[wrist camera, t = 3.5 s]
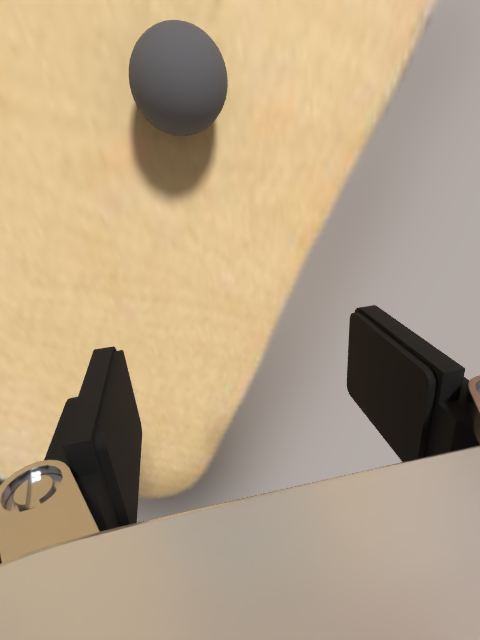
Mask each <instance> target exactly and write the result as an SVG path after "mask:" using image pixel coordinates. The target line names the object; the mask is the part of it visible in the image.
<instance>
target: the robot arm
mask: <svg viewBox="0 0 480 640" xmlns="http://www.w3.org/2000/svg"><path fill="white" fill-rule="evenodd" d="M464 372H465V368H463V367H462V366H461V365H459V364H458V363H456V362H455V361H454V360H452V359H451V358H449V357H448V356H447V355H445V354H444V353H442V352H441V351H439V350H438V349H436V348H435V347H434V346H432V345H431V344H430V343H428V342H427V341H425V340H424V339H422V338H421V337H420V336H418V335H417V334H415V333H414V332H412V331H411V330H410V329H408V328H407V327H405V326H404V325H403V324H401V323H400V322H398V321H397V320H396V319H394V318H393V317H391V316H390V315H388V314H387V313H386V312H384V311H383V310H381V309H380V308H378V307H377V306H375V305H374V306H367V307H361V308H357V309H356V310H355V313H352V314H351V316H350V327H349V348H348V370H347V388H348V392H349V394H350V396H351V397H352V398H353V399H354V401H355V402H356V403H357V405H358V406H359V407H360V408H361V410H362V411H363V412H364V413H365V415H366V416H367V417H368V419H369V420H370V421H371V422H372V424H373V425H374V426H375V427H376V429H377V430H378V431H379V433H380V434H381V435H382V436H383V438H384V439H385V440H386V441H387V443H388V444H389V445H390V447H391V448H392V449H393V450H394V452H395V453H396V454H397V455H398V457H399V458H400V459H401V460H402V463H398V464H393V465H388V466H384V467H379V468H375V469H371V470H366V471H362V472H357V473H353V474H349V475H344V476H339V477H335V478H331V479H326V480H322V481H317V482H313V483H308V484H304V485H300V486H295V487H290V488H286V489H282V490H277V491H273V492H269V493H264V494H260V495H255V496H251V497H247V498H242V499H238V500H234V501H230V502H225V503H221V504H217V505H212V506H208V507H204V508H199V509H195V510H191V511H186V512H182V513H177V514H173V515H169V516H164V517H160V518H156V519H151V520H147V521H143V522H138V523H136V522H137V505H138V491H139V475H140V459H141V443H142V427H141V422H140V418H139V413H138V409H137V405H136V401H135V397H134V393H133V389H132V385H131V380H130V376H129V372H128V368H127V364H126V360H125V356H124V352H123V350H120V351H116V348H115V347H108V348H102V349H95V350H94V351H93V354H92V357H91V360H90V363H89V366H88V369H87V372H86V375H85V378H84V381H83V384H82V387H81V390H80V393H79V396H78V397H74V398H70V399H68V400H67V402H66V404H65V406H64V409H63V412H62V414H61V417H60V420H59V422H58V425H57V428H56V430H55V433H54V436H53V438H52V441H51V444H50V446H49V449H48V451H47V454H46V457H45V459H44V461H40V462H36V463H33V464H31V465H28V466H25V467H24V468H22V469H20V470H19V471H17V472H15V473H14V474H12V475H11V476H10V477H9V478H8V479H6V480H5V481H4V482H3V483H2V485H1V486H0V640H480V376H476V377H474V378H472V379H471V380H470V381H469V380H468V379H466V378H465V377H464Z"/></svg>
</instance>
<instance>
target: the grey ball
mask: <svg viewBox="0 0 480 640" xmlns="http://www.w3.org/2000/svg"><path fill="white" fill-rule="evenodd" d="M129 82H130V88H131V92H132V95H133V98H134V100H135V102H136V105H137V107H138V108H139V110H140V111H141V113H142V114H143V115H144V117H145V118H146V119H147V120H148V121H149V122H150V123H151V124H153V125H154V126H155V127H157V128H158V129H160V130H162V131H164V132H166V133H169V134H173V135H179V136H187V135H192V134H196V133H198V132H200V131H203V130H204V129H206V128H207V127H208V126H210V125H211V124H212V123H213V122H214V120H215V119H216V118H217V116H218V115H219V113H220V112H221V110H222V108H223V105H224V102H225V99H226V94H227V72H226V67H225V63H224V60H223V57H222V55H221V53H220V51H219V49H218V47H217V46H216V44H215V43H214V41H213V40H212V39H211V38H210V37H209V36H208V35H207V34H206V33H205V32H204V31H203V30H201V29H200V28H199V27H197V26H195V25H193V24H191V23H188V22H185V21H180V20H168V21H163V22H160V23H158V24H155V25H153V26H152V27H151V28H149V29H148V30H147V31H146V32H145V33H143V34H142V36H141V37H140V38H139V40H138V41H137V43H136V45H135V46H134V49H133V51H132V54H131V58H130V64H129Z"/></svg>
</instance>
